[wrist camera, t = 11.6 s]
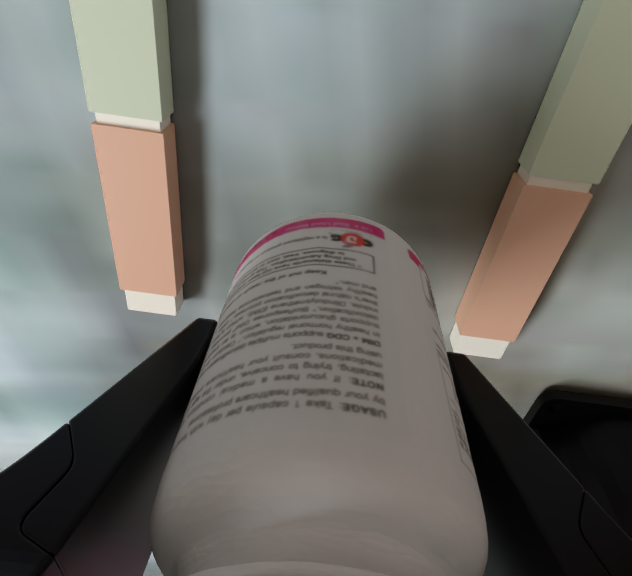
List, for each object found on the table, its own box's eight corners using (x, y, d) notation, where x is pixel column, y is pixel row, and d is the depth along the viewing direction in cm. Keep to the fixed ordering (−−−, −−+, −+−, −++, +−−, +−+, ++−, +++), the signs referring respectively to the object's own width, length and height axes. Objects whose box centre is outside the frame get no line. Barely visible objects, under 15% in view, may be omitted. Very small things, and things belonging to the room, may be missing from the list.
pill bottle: (206, 310, 12) (8, 782, 5) (299, 165, 9) (157, 721, 2) (353, 383, 13) (355, 838, 6) (470, 274, 11) (680, 833, 4)
